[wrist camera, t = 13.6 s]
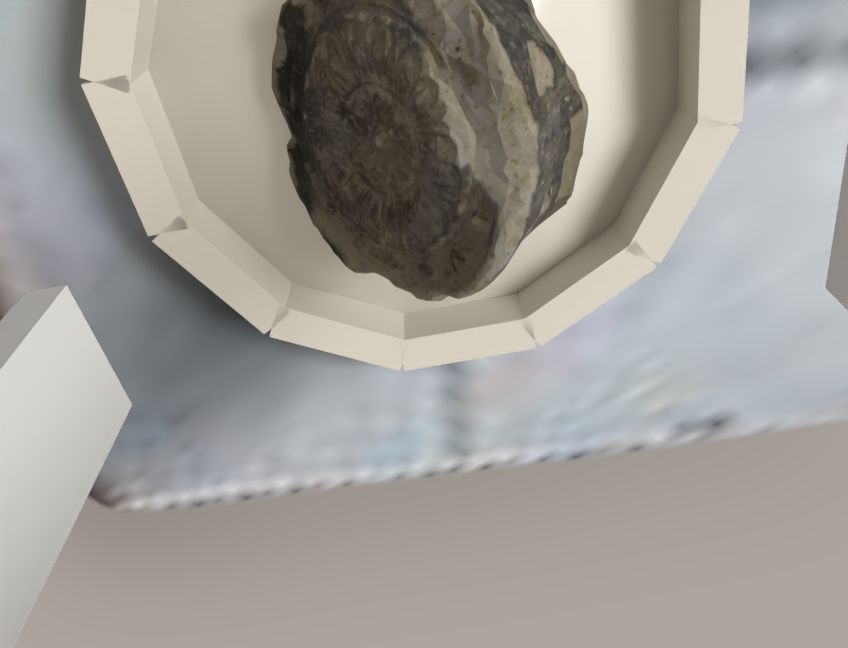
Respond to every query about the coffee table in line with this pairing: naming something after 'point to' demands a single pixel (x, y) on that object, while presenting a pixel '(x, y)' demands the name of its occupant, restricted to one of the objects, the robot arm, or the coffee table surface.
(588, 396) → the coffee table surface
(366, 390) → the coffee table surface
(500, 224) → the fossil
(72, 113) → the coffee table surface
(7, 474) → the robot arm
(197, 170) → the round tray
